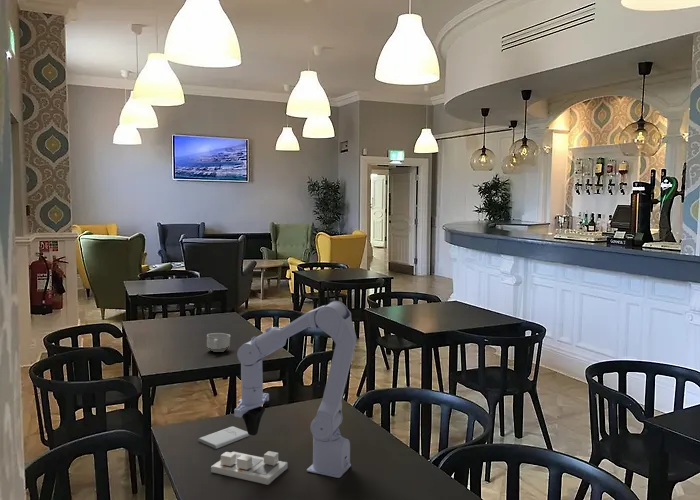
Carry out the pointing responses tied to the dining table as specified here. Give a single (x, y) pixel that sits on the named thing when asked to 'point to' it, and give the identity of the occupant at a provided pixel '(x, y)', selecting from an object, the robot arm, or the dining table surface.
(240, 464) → the switch tab mid
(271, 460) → the switch tab near
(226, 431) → the external hard drive
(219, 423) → the dining table surface
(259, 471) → the panel
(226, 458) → the switch tab far
